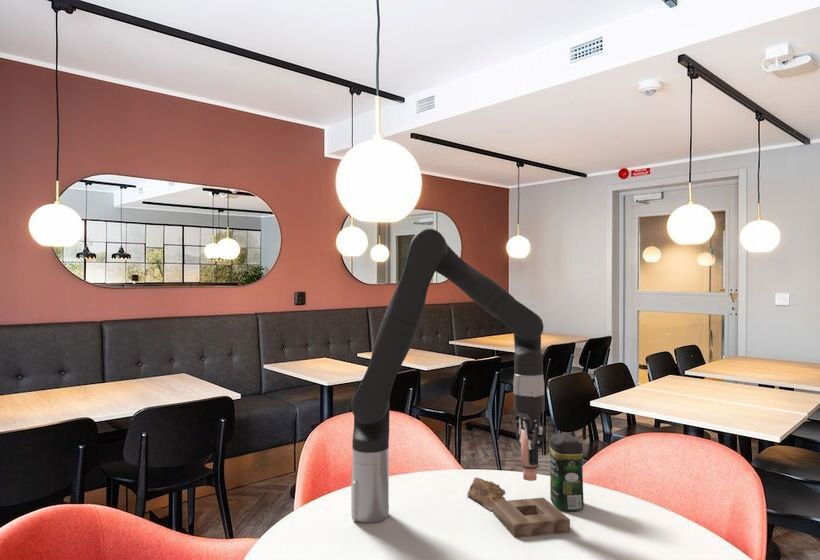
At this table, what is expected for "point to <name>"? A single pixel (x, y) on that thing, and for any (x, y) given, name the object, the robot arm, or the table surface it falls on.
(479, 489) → the wooden fragment
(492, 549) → the table surface
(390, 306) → the robot arm
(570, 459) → the coffee jar
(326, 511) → the table surface
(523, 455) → the terracotta leg
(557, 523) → the walnut board
